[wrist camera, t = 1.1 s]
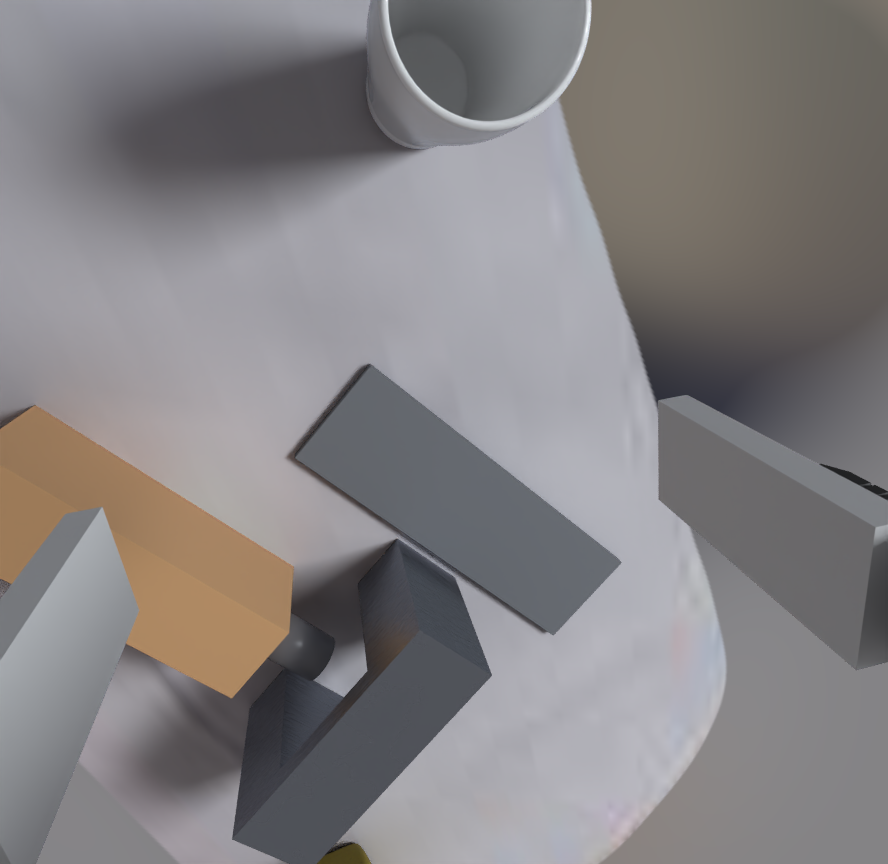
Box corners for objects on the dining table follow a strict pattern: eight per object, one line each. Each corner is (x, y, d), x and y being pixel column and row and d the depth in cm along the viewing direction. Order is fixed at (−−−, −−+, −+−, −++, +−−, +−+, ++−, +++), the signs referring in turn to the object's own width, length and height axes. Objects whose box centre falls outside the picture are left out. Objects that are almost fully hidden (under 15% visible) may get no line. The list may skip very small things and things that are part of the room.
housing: (249, 708, 43) (232, 839, 34) (397, 538, 41) (420, 630, 32) (310, 739, 45) (308, 871, 36) (455, 578, 43) (491, 675, 34)
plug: (-16, 472, 36) (-91, 531, 29) (36, 404, 35) (-28, 448, 28) (296, 651, 43) (292, 730, 36) (343, 596, 42) (348, 667, 36)
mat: (295, 454, 38) (294, 457, 38) (369, 363, 37) (370, 365, 37) (550, 630, 46) (553, 635, 45) (617, 558, 45) (621, 562, 44)
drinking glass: (506, 101, 34) (637, 25, 20) (414, 193, 35) (479, 181, 21) (419, -15, 32) (500, -191, 18) (322, 86, 32) (326, -9, 18)
